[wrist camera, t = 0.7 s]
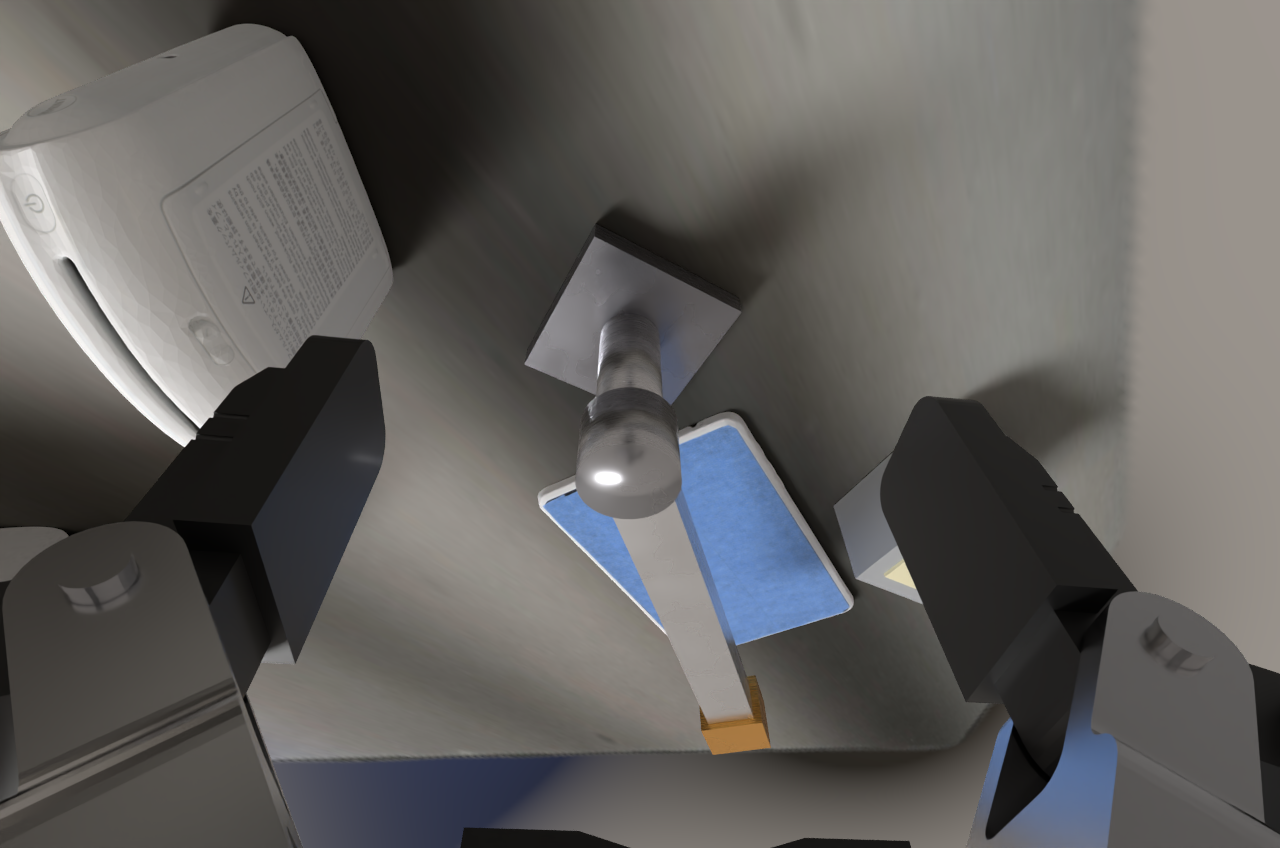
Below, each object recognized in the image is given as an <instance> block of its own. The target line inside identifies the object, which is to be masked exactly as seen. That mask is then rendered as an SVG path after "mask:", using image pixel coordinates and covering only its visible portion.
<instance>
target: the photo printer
mask: <svg viewBox="0 0 1280 848" xmlns="http://www.w3.org/2000/svg"><path fill="white" fill-rule="evenodd" d="M0 220H1V222H2V224H3V226H4V229H5V231H6V232H7V234H8V236H9V238H10V240H11V242H12V244H13V246H14V247H15V249H16V251H17V253H18V255H19V256H20V258H21V260H22V262H23V264H24V265H25V267H26V269H27V270H28V272H29V273H30V275H31V277H32V278H33V280H34V282H35V283H36V285H37V286H38V288H39V290H40V291H41V293H42V294H43V296H44V297H45V299H46V300H47V302H48V303H49V304H50V306H51V307H52V309H53V310H54V312H55V313H56V315H57V316H58V318H59V319H60V320H61V322H62V323H63V324H64V326H65V327H66V329H67V330H68V331H69V333H70V334H71V335H72V337H73V338H74V339H75V340H76V342H77V343H78V344H79V346H80V347H81V348H82V349H83V350H84V352H85V353H86V354H87V355H88V356H89V358H90V359H91V360H92V361H93V362H94V364H95V365H96V366H97V367H98V369H99V370H100V371H101V372H102V373H103V374H104V375H105V376H106V378H107V379H108V380H109V381H110V382H111V383H112V384H113V385H114V386H115V387H116V388H117V389H118V391H119V392H120V393H121V394H122V395H123V396H124V397H125V398H126V399H127V400H128V401H129V402H130V403H131V404H132V405H134V406H135V407H136V408H137V409H138V410H139V411H140V412H141V413H142V414H143V415H144V416H145V417H146V418H148V419H149V420H150V421H151V422H152V423H153V424H155V425H156V426H157V427H158V428H159V429H161V430H162V431H163V432H164V433H165V434H167V435H168V436H169V437H171V438H172V439H174V440H175V441H176V442H178V443H179V444H180V445H182V446H183V447H185V446H186V445H187V444H188V443H189V442H190V440H191V439H193V440H195V439H196V433H197V432H198V431H199V429H200V428H201V427H202V426H203V425H204V423H205V422H206V421H207V420H208V418H213V416H214V413H213V412H214V411H215V410H216V409H217V407H218V406H219V405H220V404H221V403H222V401H223V400H224V399H225V398H226V397H227V395H228V394H229V393H230V392H231V390H232V389H233V388H234V387H235V386H237V385H239V384H240V383H242V382H244V381H245V380H247V379H249V378H250V377H252V376H254V375H255V374H257V373H259V372H260V371H262V370H264V369H265V368H267V367H276V368H286V366H287V365H288V363H289V362H290V361H291V359H292V358H293V357H294V355H295V354H296V353H297V351H298V350H299V349H300V347H301V346H302V345H303V343H304V342H305V341H306V339H307V338H308V337H310V336H311V335H320V336H330V337H340V338H351V339H361V337H362V336H363V334H364V333H365V331H366V329H367V327H368V325H369V324H370V322H371V320H372V319H373V317H374V315H375V314H376V312H377V310H378V309H379V307H380V305H381V304H382V302H383V300H384V298H385V297H386V295H387V293H388V292H389V290H390V288H391V285H392V282H393V271H392V266H391V261H390V257H389V253H388V250H387V247H386V244H385V241H384V238H383V236H382V233H381V230H380V227H379V225H378V222H377V219H376V216H375V214H374V211H373V209H372V206H371V204H370V201H369V198H368V196H367V193H366V191H365V188H364V186H363V183H362V181H361V178H360V176H359V173H358V170H357V168H356V165H355V163H354V160H353V158H352V155H351V153H350V150H349V148H348V146H347V143H346V141H345V138H344V135H343V133H342V130H341V128H340V126H339V123H338V121H337V118H336V115H335V113H334V111H333V108H332V106H331V104H330V102H329V99H328V97H327V95H326V93H325V90H324V88H323V86H322V84H321V82H320V79H319V77H318V75H317V73H316V71H315V69H314V67H313V65H312V63H311V61H310V59H309V57H308V55H307V54H306V52H305V50H304V48H303V47H302V45H301V44H300V42H299V41H298V40H297V39H296V38H295V37H294V36H288V37H286V36H285V35H284V34H282V33H281V32H279V31H276V30H274V29H272V28H269V27H266V26H263V25H257V24H238V25H234V26H231V27H228V28H225V29H223V30H220V31H217V32H215V33H212V34H210V35H207V36H205V37H202V38H199V39H197V40H194V41H192V42H189V43H187V44H184V45H181V46H179V47H176V48H174V49H171V50H169V51H167V52H164V53H162V54H159V55H157V56H155V57H152V58H150V59H147V60H144V61H142V62H139V63H137V64H134V65H131V66H129V67H127V68H124V69H122V70H119V71H117V72H114V73H112V74H109V75H107V76H105V77H102V78H100V79H97V80H95V81H92V82H90V83H87V84H85V85H82V86H80V87H77V88H75V89H72V90H70V91H67V92H65V93H63V94H60V95H58V96H55V97H53V98H51V99H48V100H46V101H44V102H41V103H40V104H38V105H36V106H35V107H33V108H32V109H30V110H29V111H27V112H26V113H25V114H24V115H22V116H21V117H20V118H19V119H18V120H17V121H16V122H15V123H14V124H13V126H12V128H10V129H8V130H5V131H3V132H1V133H0Z"/></svg>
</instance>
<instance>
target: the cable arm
mask: <svg viewBox="0 0 1280 848" xmlns="http://www.w3.org/2000/svg"><path fill="white" fill-rule="evenodd" d="M575 485H576V490H577V492H578V495H579V496H580V498H581V499H582V501H583V502H584V503H585V504H586V505H587V506H589V507H590V508H591V509H593V510H594V511H596V512H598V513H600V514H603V515H605V516H609V517H613V519H614V521H615V523H616V526H617V528H618V530H619V532H620V534H621V536H622V539H623V541H624V543H625V545H626V547H627V549H628V552H629V554H630V556H631V558H632V560H633V562H634V564H635V567H636V569H637V571H638V573H639V575H640V577H641V580H642V582H643V584H644V586H645V588H646V590H647V593H648V595H649V597H650V599H651V601H652V603H653V606H654V608H655V610H656V612H657V614H658V616H659V619H660V621H661V623H662V625H663V627H664V629H665V631H666V634H667V636H668V638H669V640H670V642H671V644H672V647H673V649H674V651H675V653H676V655H677V657H678V660H679V662H680V664H681V666H682V668H683V670H684V673H685V675H686V677H687V679H688V681H689V683H690V686H691V688H692V690H693V692H694V694H695V696H696V698H697V701H698V703H699V706H700V719H701V731H702V733H703V735H704V737H705V739H706V741H707V744H708V746H709V748H710V750H711V752H712V754H713V755H715V754H723V753H731V752H739V751H747V750H755V749H763V748H771V746H770V739H769V733H768V726H767V719H766V713H765V706H764V700H763V697H762V694H761V691H760V688H759V685H758V682H757V679H756V676H748V677H747V675H746V672H745V670H744V667H743V664H742V661H741V658H740V655H739V652H738V649H737V646H736V644H735V641H734V638H733V635H732V632H731V629H730V626H729V623H728V620H727V618H726V615H725V612H724V609H723V606H722V603H721V600H720V597H719V594H718V592H717V589H716V586H715V583H714V580H713V577H712V574H711V571H710V568H709V566H708V563H707V560H706V557H705V554H704V551H703V548H702V545H701V542H700V540H699V537H698V534H697V531H696V528H695V525H694V522H693V519H692V516H691V514H690V511H689V508H688V505H687V502H686V499H685V496H684V493H683V490H682V488H681V487H682V475H681V462H680V449H679V435H678V422H677V417H676V414H675V411H674V409H673V408H672V406H671V405H670V404H669V403H668V402H667V401H666V400H665V399H664V398H662V397H661V396H659V395H658V394H656V393H654V392H651V391H649V390H645V389H641V388H634V387H625V388H617V389H613V390H609V391H607V392H604V393H602V394H600V395H598V396H597V397H596V398H594V399H593V400H592V401H591V402H590V403H589V404H588V405H587V406H586V408H585V410H584V411H583V414H582V417H581V424H580V435H579V445H578V456H577V467H576V477H575Z"/></svg>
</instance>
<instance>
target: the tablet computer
mask: <svg viewBox="0 0 1280 848" xmlns="http://www.w3.org/2000/svg"><path fill="white" fill-rule="evenodd" d="M678 435H679V449H680V462H681V475H682V487H681V488H682V490H683V493H684V496H685V499H686V502H687V505H688V508H689V511H690V514H691V516H692V519H693V522H694V525H695V528H696V531H697V534H698V537H699V540H700V542H701V545H702V548H703V551H704V554H705V557H706V560H707V563H708V566H709V568H710V571H711V574H712V577H713V580H714V583H715V586H716V589H717V592H718V594H719V597H720V600H721V603H722V606H723V609H724V612H725V615H726V618H727V620H728V623H729V626H730V629H731V632H732V635H733V638H734V641H735V644H736V645H739V644H742V643H746V642H749V641H752V640H755V639H759V638H762V637H765V636H769V635H772V634H775V633H778V632H782V631H785V630H788V629H791V628H795V627H798V626H801V625H805V624H808V623H811V622H815V621H818V620H821V619H824V618H828V617H831V616H834V615H838V614H841V613H844V612H846V611H848V610H850V609H851V608H852V606H853V604H854V599H853V596H852V594H851V593H850V591H849V590H848V588H847V587H846V585H845V583H844V582H843V580H842V579H841V577H840V576H839V574H838V572H837V571H836V569H835V567H834V566H833V564H832V563H831V561H830V559H829V558H828V556H827V555H826V553H825V551H824V550H823V548H822V547H821V545H820V543H819V542H818V540H817V538H816V537H815V535H814V534H813V532H812V530H811V529H810V527H809V526H808V524H807V523H806V521H805V519H804V518H803V516H802V514H801V513H800V511H799V510H798V508H797V506H796V505H795V503H794V502H793V500H792V499H791V497H790V495H789V494H788V492H787V490H786V489H785V487H784V484H783V482H782V481H781V479H780V478H779V476H778V475H777V474H776V471H775V469H774V468H773V466H772V465H771V463H770V462H769V461H768V460H767V458H766V456H765V455H764V452H763V450H762V449H761V447H760V445H759V444H758V443H757V441H756V440H755V439H754V437H753V435H752V434H751V432H750V430H749V429H748V427H747V425H746V424H745V422H744V420H743V419H742V418H741V417H740V416H739V415H738V414H736V413H733V412H723V413H719V414H716V415H714V416H711V417H709V418H707V419H705V420H702V421H700V422H698V423H697V424H696V425H695V426H693V427H690V426H689V427H686V428H684V429H681V430H679V431H678ZM575 477H576V475H574V476H571V477H569V478H567V479H564V480H562V481H560V482H557V483H555V484H552V485H550V486H547V487H545V488H544V489H542V490H541V491H540V492H539V494H538V501H539V506H540V508H541V509H542V510H543V511H544V512H545V513H546V514H547V515H548V516H549V517H550V518H551V519H552V520H553V521H554V522H555V523H556V524H557V525H558V526H559V527H560V528H561V529H562V530H563V531H564V532H565V533H566V534H567V535H568V536H569V537H570V538H571V539H572V540H573V541H574V542H575V543H576V544H577V545H578V546H579V547H580V548H581V549H582V550H583V551H584V552H585V553H586V554H587V555H588V556H589V557H590V558H591V559H592V560H593V561H594V562H595V563H596V564H597V565H598V566H599V567H600V568H601V569H602V570H603V571H604V572H605V573H606V574H607V575H608V576H609V577H610V578H611V579H612V580H613V581H614V582H615V583H616V584H617V585H618V586H619V587H620V588H621V589H622V590H623V591H624V592H625V593H626V594H627V595H628V596H629V597H630V598H631V599H632V600H633V601H634V602H635V603H636V604H637V605H638V607H639V608H640V609H641V610H642V611H643V612H644V613H645V614H646V615H647V616H648V617H649V618H650V619H651V620H652V621H653V622H654V623H655V624H656V625H657V626H658V627H659V628H660V629H661V630H662V631H663V632H664V633H665V634H666V631H665V629H664V627H663V625H662V623H661V621H660V619H659V616H658V614H657V612H656V610H655V608H654V606H653V603H652V601H651V599H650V597H649V595H648V593H647V590H646V588H645V586H644V584H643V582H642V580H641V577H640V575H639V573H638V571H637V569H636V567H635V564H634V562H633V560H632V558H631V556H630V554H629V552H628V549H627V547H626V545H625V543H624V541H623V539H622V536H621V534H620V532H619V530H618V528H617V526H616V523H615V521H614V519H613V517H609V516H605V515H603V514H600V513H598V512H596V511H594V510H593V509H591V508H590V507H589V506H587V505H586V504H585V503H584V502H583V501H582V499H581V498H580V496H579V495H578V492H577V490H576V485H575ZM666 635H667V634H666Z"/></svg>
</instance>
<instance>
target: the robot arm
mask: <svg viewBox="0 0 1280 848" xmlns="http://www.w3.org/2000/svg"><path fill="white" fill-rule="evenodd" d="M213 413H214V416H213V418H208V420H207V421H206V422H205V423H204V425H203V426H202V427H201V428H200V429H199V431H198V432H197V433H196V439H195V440H193V439H191V440H190V442H189V443H188V444H187V445H186V446H185V448H184V449H183V450H182V451H181V453H180V454H179V455H178V456H177V457H176V459H175V460H174V461H173V462H172V463H171V465H170V466H169V467H168V468H167V470H166V471H165V472H164V473H163V474H162V476H161V477H160V478H159V479H158V481H157V482H156V483H155V484H154V485H153V487H152V488H151V489H150V490H149V491H148V493H147V494H146V495H145V496H144V498H143V499H142V500H141V501H140V502H139V504H138V505H137V506H136V507H135V508H134V510H133V511H132V512H131V513H130V515H129V516H128V517H127V518H126V519H125V521H124V522H117V523H112V524H106V525H101V526H98V527H94V528H90V529H87V530H84V531H81V532H79V533H76V534H73V535H71V536H69V537H67V538H65V539H62V540H60V541H58V542H57V543H55V544H53V545H51V546H50V547H48V548H46V549H45V550H43V551H42V552H40V553H39V554H38V555H36V556H35V557H33V558H32V559H31V560H30V561H29V562H28V563H27V564H25V565H24V566H23V567H22V568H21V569H20V571H19V572H18V573H17V574H16V575H15V576H14V577H13V579H12V580H8V581H3V582H0V848H303V846H302V843H301V840H300V838H299V835H298V832H297V830H296V827H295V824H294V821H293V819H292V816H291V813H290V811H289V808H288V805H287V802H286V799H285V797H284V794H283V791H282V788H281V786H280V783H279V780H278V778H277V775H276V772H275V769H274V766H273V764H272V761H271V758H270V755H269V753H268V750H267V747H266V744H265V742H264V739H263V736H262V733H261V731H260V728H259V725H258V722H257V719H256V717H255V714H254V711H253V708H252V706H251V703H250V700H249V698H248V695H247V693H246V692H247V690H248V688H249V686H250V684H251V682H252V680H253V678H254V676H255V674H256V671H257V669H258V667H259V665H260V663H261V662H262V663H281V664H295V663H296V661H297V659H298V656H299V654H300V652H301V650H302V647H303V645H304V643H305V640H306V638H307V636H308V634H309V631H310V629H311V627H312V624H313V622H314V620H315V617H316V615H317V613H318V611H319V608H320V606H321V604H322V601H323V599H324V597H325V595H326V592H327V590H328V588H329V585H330V583H331V581H332V579H333V576H334V574H335V572H336V569H337V567H338V565H339V562H340V560H341V558H342V556H343V553H344V551H345V549H346V546H347V544H348V542H349V540H350V537H351V535H352V533H353V530H354V528H355V526H356V523H357V521H358V519H359V517H360V514H361V512H362V510H363V507H364V505H365V503H366V501H367V498H368V496H369V494H370V491H371V489H372V487H373V484H374V482H375V480H376V478H377V475H378V473H379V470H380V468H381V464H382V460H383V455H384V449H385V424H384V416H383V408H382V400H381V392H380V385H379V377H378V369H377V361H376V354H375V350H374V347H373V345H372V343H371V342H370V341H369V340H361V339H351V338H340V337H330V336H320V335H311V336H310V337H308V338H307V339H306V341H305V342H304V343H303V345H302V346H301V347H300V349H299V350H298V351H297V353H296V354H295V355H294V357H293V358H292V359H291V361H290V362H289V363H288V365H287V366H286V368H276V367H267V368H265V369H264V370H262V371H260V372H259V373H257V374H255V375H254V376H252V377H250V378H249V379H247V380H245V381H244V382H242V383H240V384H239V385H237V386H235V387H234V388H233V389H232V390H231V392H230V393H229V394H228V395H227V397H226V398H225V399H224V400H223V401H222V403H221V404H220V405H219V406H218V407H217V409H216V410H215V411H214V412H213ZM1057 487H1058V486H1057V485H1056V484H1055V482H1054V481H1053V480H1052V478H1051V477H1050V476H1049V474H1048V473H1047V472H1046V470H1045V469H1044V468H1043V467H1042V465H1041V464H1040V463H1039V461H1038V460H1037V459H1035V458H1034V457H1033V456H1032V455H1030V454H1029V453H1028V452H1026V451H1025V450H1024V449H1023V448H1021V447H1020V446H1019V445H1018V444H1016V443H1015V442H1014V441H1012V440H1011V439H1010V438H1009V437H1006V436H1005V435H1004V434H1003V432H1002V431H1001V429H1000V428H999V427H998V425H997V424H996V423H995V421H994V420H993V419H992V417H991V416H990V415H989V413H988V412H987V411H986V409H985V408H984V407H983V405H982V404H980V403H979V402H977V401H973V400H963V399H952V398H942V397H932V396H926V397H923V398H922V399H920V400H919V401H918V402H917V404H916V405H915V406H914V408H913V410H912V412H911V414H910V417H909V419H908V421H907V423H906V425H905V427H904V430H903V432H902V434H901V436H900V438H899V440H898V443H897V445H896V447H895V449H894V451H893V453H892V455H891V458H890V460H889V462H888V464H887V466H886V468H885V471H884V473H883V476H882V480H881V486H880V502H881V507H882V511H883V514H884V516H885V518H886V521H887V523H888V525H889V528H890V530H891V532H892V534H893V537H894V539H895V541H896V543H897V546H898V548H899V550H900V553H901V555H902V557H903V559H904V562H905V564H906V566H907V569H908V571H909V573H910V575H911V578H912V580H913V582H914V585H915V587H916V589H917V591H918V594H919V596H920V598H921V601H922V603H923V605H924V607H925V610H926V612H927V614H928V616H929V619H930V621H931V623H932V626H933V628H934V630H935V632H936V635H937V637H938V639H939V642H940V644H941V646H942V648H943V651H944V653H945V655H946V658H947V660H948V662H949V664H950V667H951V669H952V671H953V673H954V676H955V678H956V680H957V683H958V685H959V687H960V689H961V692H962V694H963V696H964V699H965V701H966V702H976V703H995V704H1004V705H1005V707H1006V709H1007V711H1008V713H1009V715H1010V718H1009V719H1008V720H1007V722H1006V723H1005V724H1004V725H1003V726H1002V727H1001V729H1000V731H999V734H998V737H997V740H996V744H995V747H994V751H993V754H992V758H991V761H990V765H989V769H988V772H987V776H986V779H985V783H984V786H983V790H982V794H981V797H980V800H979V804H978V807H977V811H976V815H975V818H974V822H973V825H972V829H971V832H970V836H969V839H968V843H967V846H966V848H1280V674H1279V673H1276V672H1273V671H1270V670H1267V669H1264V668H1261V667H1258V666H1255V665H1251V664H1248V662H1247V661H1246V659H1245V658H1244V656H1243V654H1242V653H1241V652H1240V651H1239V649H1238V648H1237V647H1236V646H1235V644H1234V643H1233V642H1232V641H1231V640H1230V639H1229V638H1228V637H1227V636H1226V635H1225V634H1224V633H1223V632H1221V631H1220V630H1219V629H1218V628H1217V627H1215V626H1214V625H1213V624H1212V623H1210V622H1209V621H1208V620H1206V619H1205V618H1204V617H1202V616H1201V615H1199V614H1197V613H1195V612H1194V611H1193V610H1191V609H1189V608H1187V607H1185V606H1183V605H1181V604H1180V603H1177V602H1175V601H1173V600H1170V599H1168V598H1165V597H1162V596H1159V595H1156V594H1151V593H1146V592H1138V591H1137V590H1136V588H1135V587H1134V586H1133V584H1132V583H1131V582H1130V580H1129V579H1128V578H1127V576H1126V575H1125V574H1124V572H1123V571H1122V570H1121V569H1120V567H1119V566H1118V565H1117V563H1116V562H1115V561H1114V559H1113V558H1112V557H1111V555H1110V554H1109V553H1108V552H1107V550H1106V549H1105V548H1104V546H1103V545H1102V544H1101V542H1100V541H1099V540H1098V538H1097V537H1096V536H1095V535H1094V533H1093V532H1092V531H1091V529H1090V528H1089V527H1088V525H1087V524H1086V523H1085V521H1084V520H1083V519H1082V518H1081V516H1080V515H1079V514H1075V513H1074V507H1073V506H1072V504H1071V503H1070V502H1069V501H1068V499H1067V498H1066V497H1065V495H1064V494H1063V493H1062V492H1059V491H1057ZM461 848H629V847H626V846H623V845H620V844H617V843H613V842H610V841H608V840H604V839H601V838H598V837H595V836H592V835H589V834H586V833H583V832H580V831H557V830H527V829H526V830H525V829H494V828H464V831H463V837H462V842H461ZM773 848H911V846H910V842H909V841H887V840H853V839H851V840H850V839H821V838H820V839H819V838H803V839H800V840H797V841H793V842H790V843H786V844H783V845H780V846H776V847H773Z"/></svg>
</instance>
